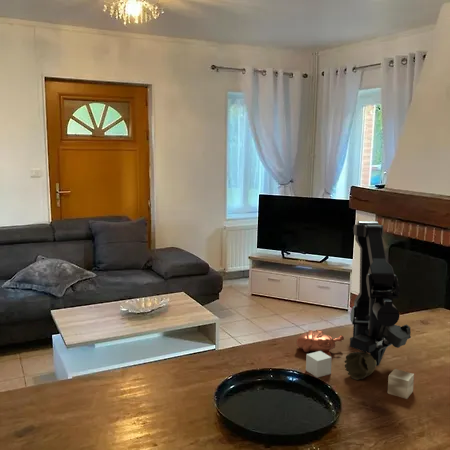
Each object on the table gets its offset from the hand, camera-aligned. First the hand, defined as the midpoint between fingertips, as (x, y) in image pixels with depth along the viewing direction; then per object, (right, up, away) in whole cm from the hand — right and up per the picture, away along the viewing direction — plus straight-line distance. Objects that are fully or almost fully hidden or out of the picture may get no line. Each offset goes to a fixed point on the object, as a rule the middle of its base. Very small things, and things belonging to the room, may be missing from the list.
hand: (376, 365), depth 143 cm
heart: (-14, +1, +14) cm, 20 cm away
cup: (-2, +1, -1) cm, 3 cm away
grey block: (-17, -2, -2) cm, 17 cm away
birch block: (+2, -3, -13) cm, 14 cm away
